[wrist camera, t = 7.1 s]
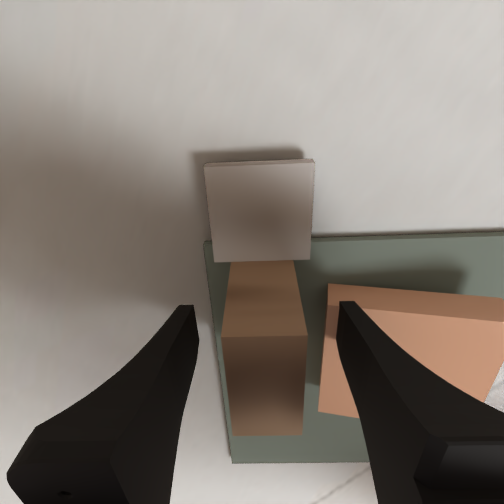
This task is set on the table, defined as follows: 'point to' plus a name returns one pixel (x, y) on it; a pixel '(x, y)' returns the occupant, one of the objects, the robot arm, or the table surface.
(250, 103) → the table surface
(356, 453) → the mat
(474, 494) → the robot arm
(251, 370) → the two-tone block stack
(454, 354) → the tile
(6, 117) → the table surface
